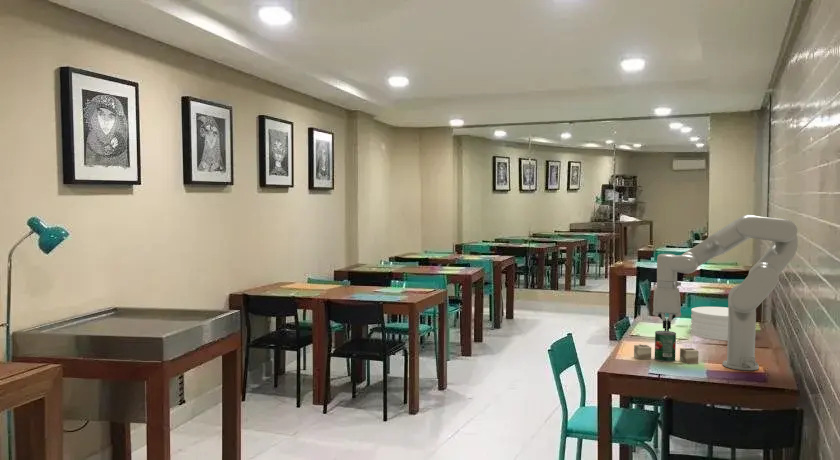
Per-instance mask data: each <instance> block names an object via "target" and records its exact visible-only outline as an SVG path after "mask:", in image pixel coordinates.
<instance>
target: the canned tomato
mask: <svg viewBox="0 0 840 460" xmlns="http://www.w3.org/2000/svg"><path fill="white" fill-rule="evenodd" d="M676 343H677V332H676V331H675V332H674V331H672V330H671V331H670V330H669V331H665V330H656V331H654V360H655V361H657V360H658V362H661V363H673V361H674V362H675V361H676V349H677V348H676V346H677V345H676Z"/></svg>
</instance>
